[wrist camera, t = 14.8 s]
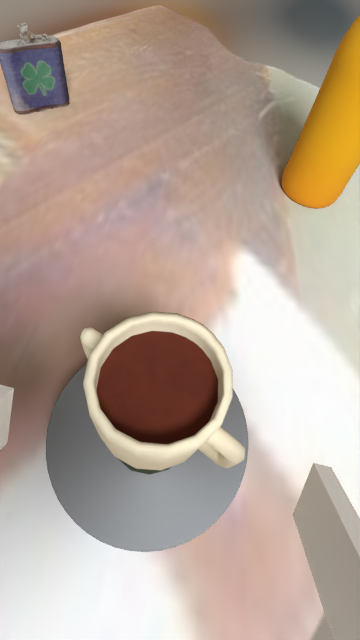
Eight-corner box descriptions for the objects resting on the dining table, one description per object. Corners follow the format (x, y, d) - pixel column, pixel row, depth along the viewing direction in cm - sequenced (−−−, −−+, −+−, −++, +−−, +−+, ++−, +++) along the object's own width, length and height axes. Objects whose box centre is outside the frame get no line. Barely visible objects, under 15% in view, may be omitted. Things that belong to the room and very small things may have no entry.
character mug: (230, 439, 27) (296, 389, 16) (177, 521, 24) (213, 530, 13) (128, 359, 30) (124, 267, 18) (67, 424, 26) (17, 359, 15)
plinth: (62, 368, 34) (51, 347, 29) (216, 356, 36) (227, 335, 32) (54, 561, 26) (38, 571, 22) (250, 528, 29) (270, 531, 24)
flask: (17, 116, 53) (-7, 33, 44) (11, 106, 54) (-14, 24, 45) (72, 105, 57) (60, 26, 47) (65, 96, 58) (52, 17, 49)
